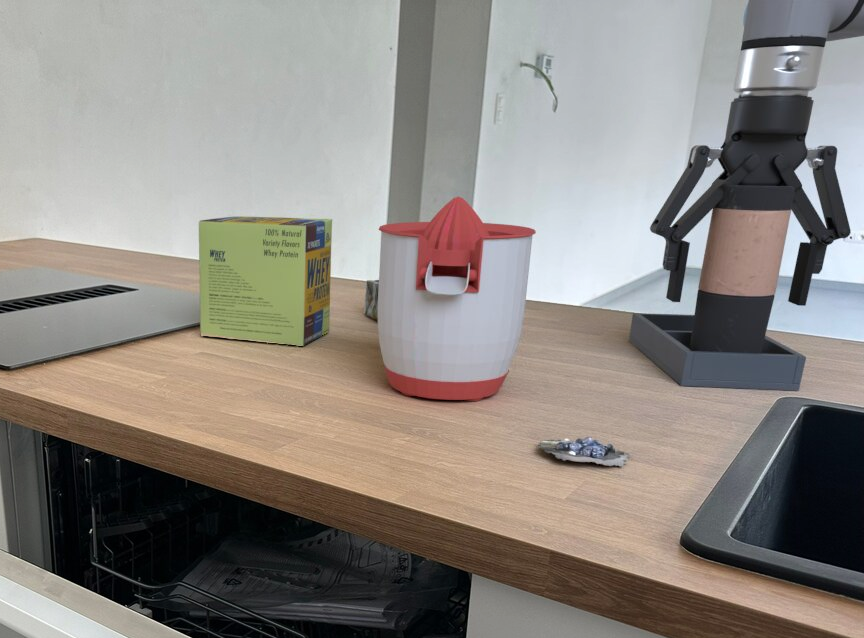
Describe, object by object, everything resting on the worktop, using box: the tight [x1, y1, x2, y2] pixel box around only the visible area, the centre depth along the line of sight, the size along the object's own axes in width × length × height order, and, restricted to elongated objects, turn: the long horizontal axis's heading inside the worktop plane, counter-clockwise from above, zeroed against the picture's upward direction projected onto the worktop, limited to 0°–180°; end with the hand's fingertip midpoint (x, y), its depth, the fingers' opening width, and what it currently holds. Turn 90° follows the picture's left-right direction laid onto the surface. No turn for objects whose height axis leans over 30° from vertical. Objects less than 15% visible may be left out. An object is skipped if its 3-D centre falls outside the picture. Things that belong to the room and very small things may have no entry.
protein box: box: [198, 215, 333, 347], centre depth 116 cm, size 10×15×16 cm
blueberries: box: [536, 436, 631, 468], centre depth 73 cm, size 7×8×2 cm
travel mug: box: [690, 185, 795, 353], centre depth 95 cm, size 8×8×20 cm
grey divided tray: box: [628, 312, 807, 392], centre depth 104 cm, size 12×23×4 cm, turn 171°
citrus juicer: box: [377, 196, 537, 402], centre depth 89 cm, size 16×17×20 cm
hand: (734, 302), depth 96 cm, fingers open, 12 cm apart
